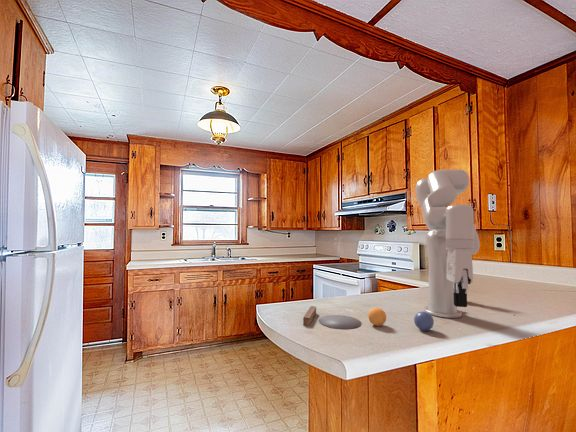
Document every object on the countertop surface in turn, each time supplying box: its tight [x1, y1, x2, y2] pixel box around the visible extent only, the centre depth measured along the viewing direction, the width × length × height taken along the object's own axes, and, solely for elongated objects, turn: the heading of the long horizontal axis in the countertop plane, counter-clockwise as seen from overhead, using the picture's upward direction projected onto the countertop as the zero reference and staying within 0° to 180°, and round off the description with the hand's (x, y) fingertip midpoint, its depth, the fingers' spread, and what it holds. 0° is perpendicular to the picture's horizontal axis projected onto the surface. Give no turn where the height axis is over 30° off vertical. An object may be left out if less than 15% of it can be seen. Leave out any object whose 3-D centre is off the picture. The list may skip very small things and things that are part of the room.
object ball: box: [367, 307, 387, 327], centre depth 96 cm, size 6×6×6 cm
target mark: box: [318, 314, 362, 330], centre depth 99 cm, size 14×14×1 cm
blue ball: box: [413, 311, 435, 331], centre depth 93 cm, size 6×6×6 cm
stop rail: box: [302, 305, 317, 327], centre depth 102 cm, size 2×14×2 cm, turn 166°
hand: (460, 306), depth 90 cm, fingers closed
